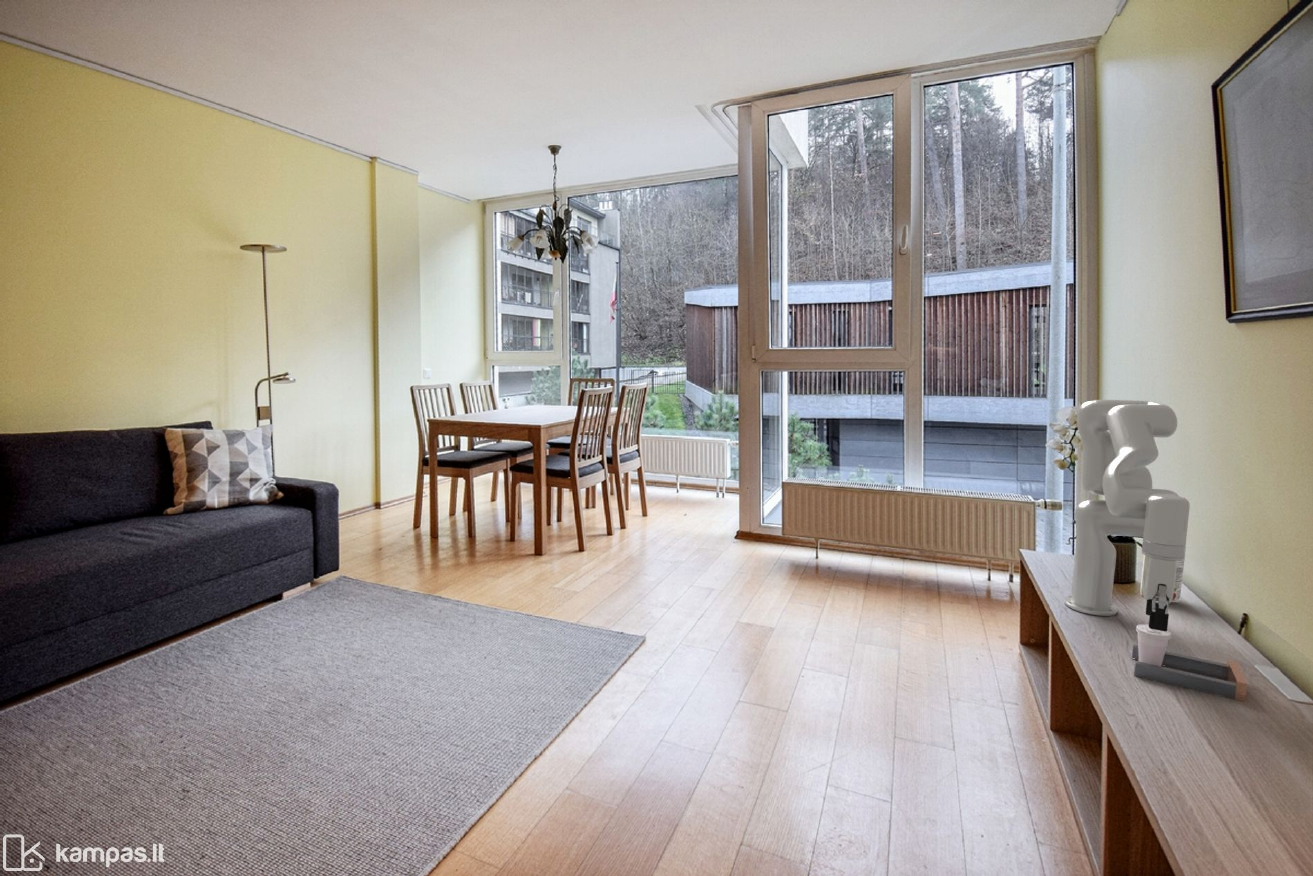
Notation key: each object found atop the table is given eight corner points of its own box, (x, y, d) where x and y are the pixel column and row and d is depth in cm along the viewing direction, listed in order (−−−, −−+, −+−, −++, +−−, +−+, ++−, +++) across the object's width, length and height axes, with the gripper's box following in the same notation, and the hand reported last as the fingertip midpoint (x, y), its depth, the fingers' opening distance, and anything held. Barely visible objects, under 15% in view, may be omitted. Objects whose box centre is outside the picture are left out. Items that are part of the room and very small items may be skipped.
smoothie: (1125, 665, 147) (1131, 608, 145) (1143, 660, 149) (1149, 604, 148) (1155, 678, 141) (1162, 619, 139) (1173, 673, 144) (1180, 615, 142)
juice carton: (1184, 604, 184) (1191, 541, 182) (1154, 604, 184) (1161, 541, 182) (1163, 594, 192) (1170, 534, 189) (1135, 594, 192) (1142, 534, 189)
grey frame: (1131, 656, 152) (1133, 640, 151) (1234, 678, 141) (1237, 662, 141) (1134, 676, 142) (1136, 659, 142) (1245, 701, 132) (1247, 684, 131)
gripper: (1139, 538, 151) (1133, 607, 152) (1144, 555, 137) (1137, 631, 138) (1180, 544, 146) (1173, 614, 148) (1189, 561, 132) (1181, 639, 134)
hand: (1155, 622), depth 143 cm, fingers open, 9 cm apart
